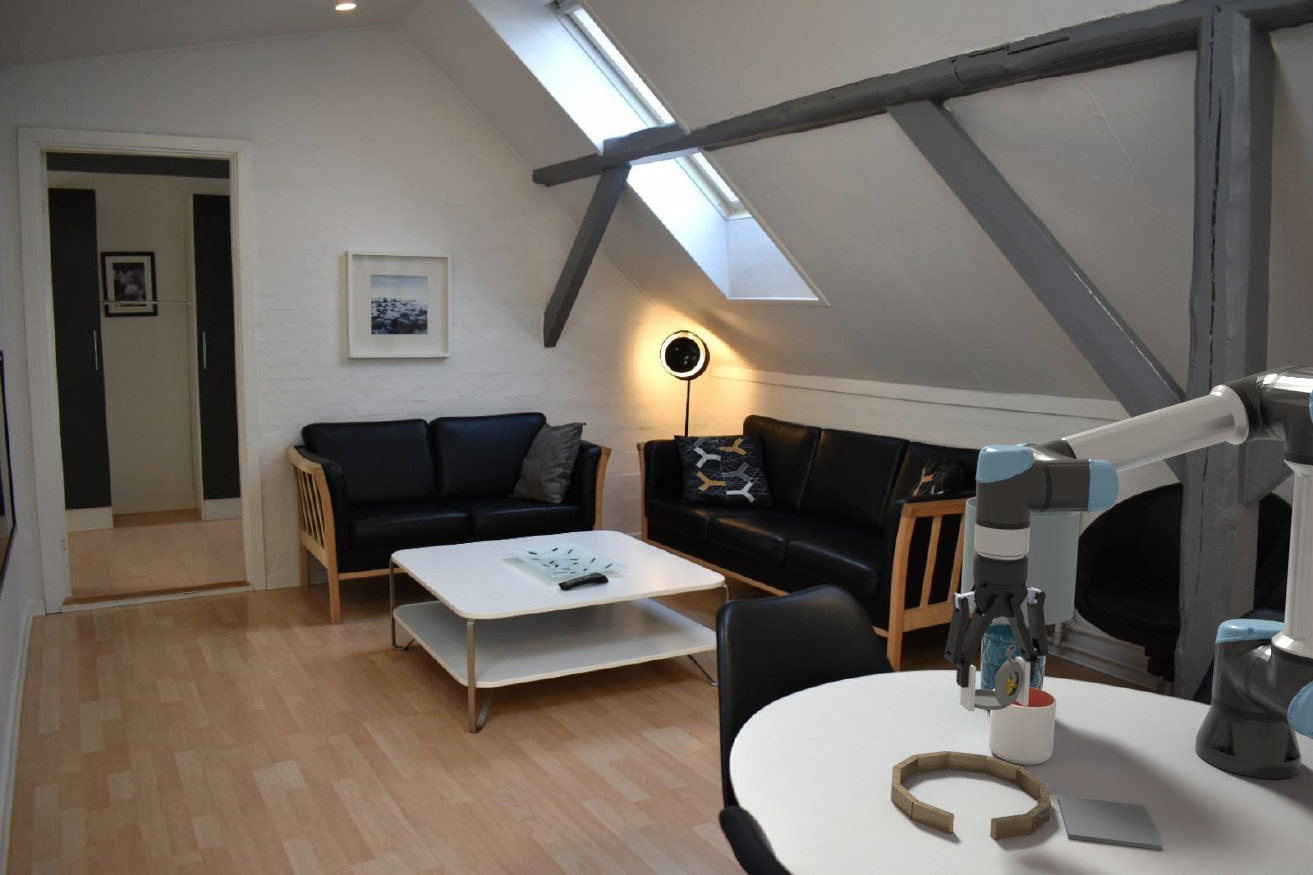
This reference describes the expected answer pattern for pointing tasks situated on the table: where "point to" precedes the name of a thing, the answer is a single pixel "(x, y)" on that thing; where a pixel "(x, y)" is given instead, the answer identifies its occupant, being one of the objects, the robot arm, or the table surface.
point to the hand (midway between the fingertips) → (994, 704)
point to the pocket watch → (1002, 686)
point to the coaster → (1108, 822)
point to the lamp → (1029, 584)
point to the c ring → (971, 763)
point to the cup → (1024, 729)
